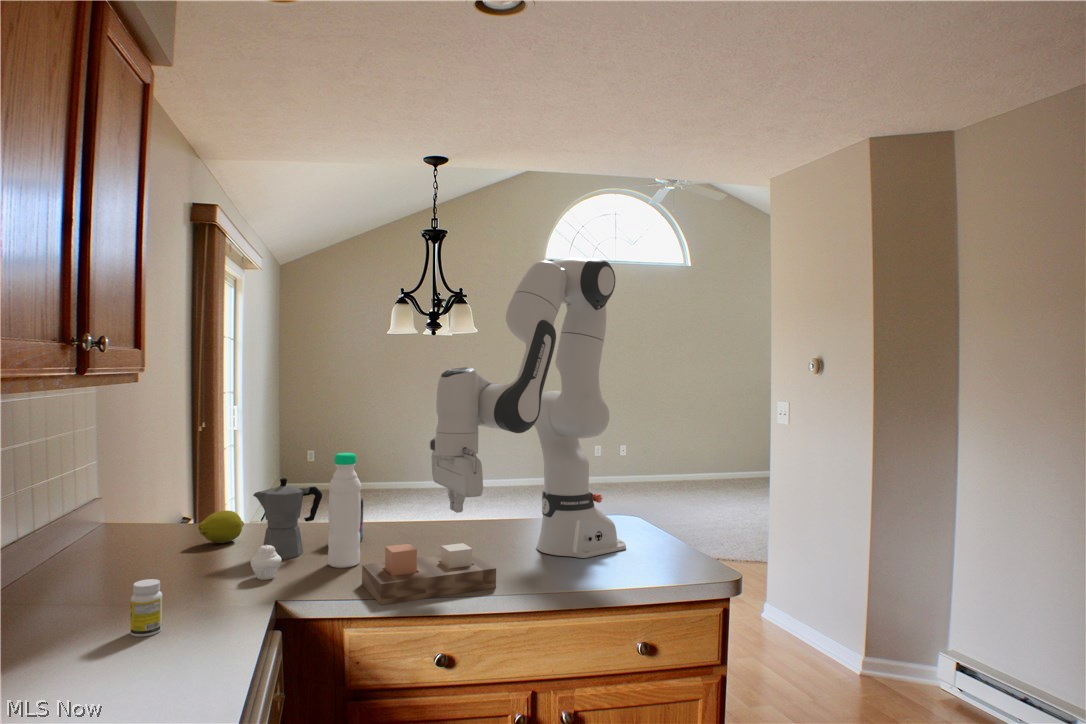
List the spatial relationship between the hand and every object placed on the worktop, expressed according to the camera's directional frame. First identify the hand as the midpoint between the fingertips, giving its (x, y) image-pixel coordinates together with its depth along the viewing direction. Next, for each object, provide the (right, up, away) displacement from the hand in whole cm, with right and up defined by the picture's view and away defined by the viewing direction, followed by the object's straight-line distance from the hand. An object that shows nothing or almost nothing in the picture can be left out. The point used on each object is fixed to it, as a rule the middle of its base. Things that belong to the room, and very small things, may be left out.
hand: (456, 511), depth 152 cm
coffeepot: (-42, -14, +19) cm, 49 cm away
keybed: (-5, -15, -3) cm, 16 cm away
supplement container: (-31, -14, +32) cm, 47 cm away
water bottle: (-27, -15, +12) cm, 33 cm away
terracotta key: (-11, -11, -6) cm, 16 cm away
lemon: (-62, -14, +28) cm, 69 cm away
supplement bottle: (-49, -15, -30) cm, 59 cm away
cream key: (0, -13, 0) cm, 13 cm away
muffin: (-40, -15, +1) cm, 43 cm away
